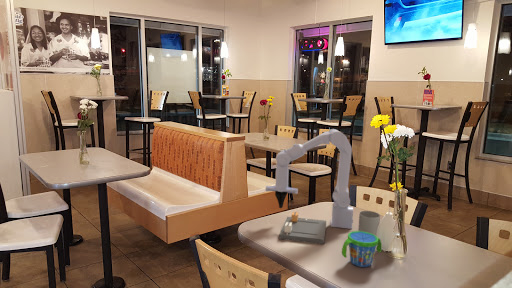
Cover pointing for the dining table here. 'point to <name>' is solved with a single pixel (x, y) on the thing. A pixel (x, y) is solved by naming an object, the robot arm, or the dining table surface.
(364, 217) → the cup
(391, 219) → the sauce bottle
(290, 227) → the block
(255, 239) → the dining table surface
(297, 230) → the console
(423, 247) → the dining table surface
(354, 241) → the snack cup
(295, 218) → the block
